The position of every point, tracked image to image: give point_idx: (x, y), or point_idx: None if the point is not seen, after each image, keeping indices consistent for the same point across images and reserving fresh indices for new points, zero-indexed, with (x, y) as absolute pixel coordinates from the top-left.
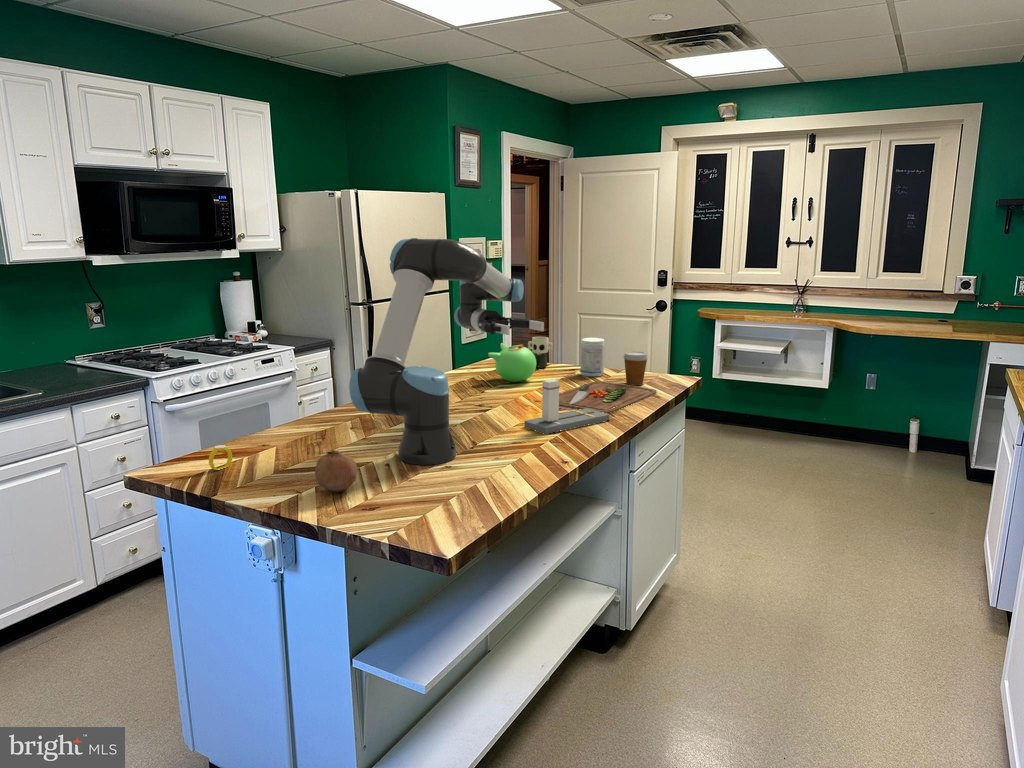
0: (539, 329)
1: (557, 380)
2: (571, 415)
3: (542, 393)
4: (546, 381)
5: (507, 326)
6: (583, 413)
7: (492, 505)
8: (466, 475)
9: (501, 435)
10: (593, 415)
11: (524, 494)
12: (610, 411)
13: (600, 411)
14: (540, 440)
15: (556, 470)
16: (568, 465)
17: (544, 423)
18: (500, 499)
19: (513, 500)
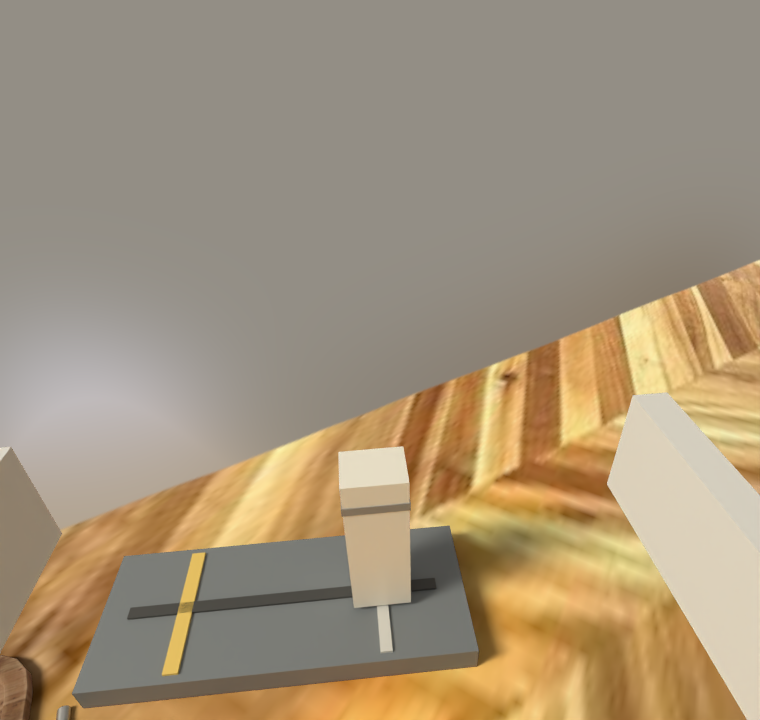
0: (29, 573)
1: (340, 460)
2: (246, 618)
3: (409, 526)
4: (401, 464)
5: (665, 397)
6: (188, 610)
7: (703, 307)
8: (756, 392)
9: (612, 608)
10: (179, 575)
11: (641, 316)
12: (2, 656)
13: (28, 681)
14: (492, 503)
15: (546, 357)
16: (510, 365)
17: (421, 573)
18: (687, 315)
19: (665, 309)
